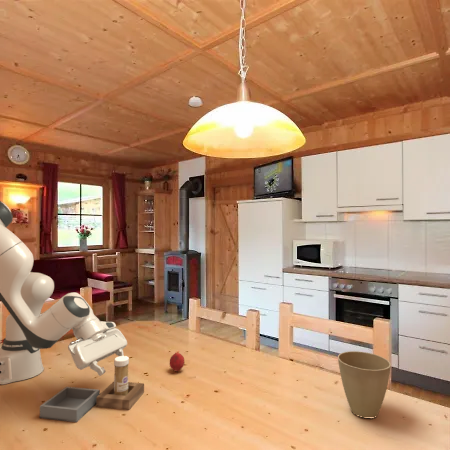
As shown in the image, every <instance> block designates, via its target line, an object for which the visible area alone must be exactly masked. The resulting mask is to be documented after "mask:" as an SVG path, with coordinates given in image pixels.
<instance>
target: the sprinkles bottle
mask: <svg viewBox="0 0 450 450" xmlns="http://www.w3.org/2000/svg"><path fill="white" fill-rule="evenodd" d="M113 360H114V362H113V365H114V378H113V382H114V392H115V393H114V395H122V396H126V395H127V394H128V382H129V363H130V358H129V356H127V355H124V356H116V357H115V358H114V359H113Z"/></svg>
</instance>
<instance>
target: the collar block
mask: <svg viewBox="0 0 450 450" xmlns="http://www.w3.org/2000/svg"><path fill="white" fill-rule="evenodd" d="M144 392H145V384H144V382H143V383H141V382H131V381H128V394H127V395H126V396H122V395H114V393H115V392H114V381H112V382H111V383H110V384H109V385H108V386H107V387H106V388H105V389H104V390H102V391H101V392H100V394H99V395H98V396H97V398H96V405H95V407H96V408H97V407H98V408H104V409H105V408H106V409H114V410H115V409H116V410H124V411H131V409H132V407H133V406H134V405H135V404H136V403H137V401H138V400H139V399H140V398H141V397H142V395H144Z"/></svg>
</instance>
